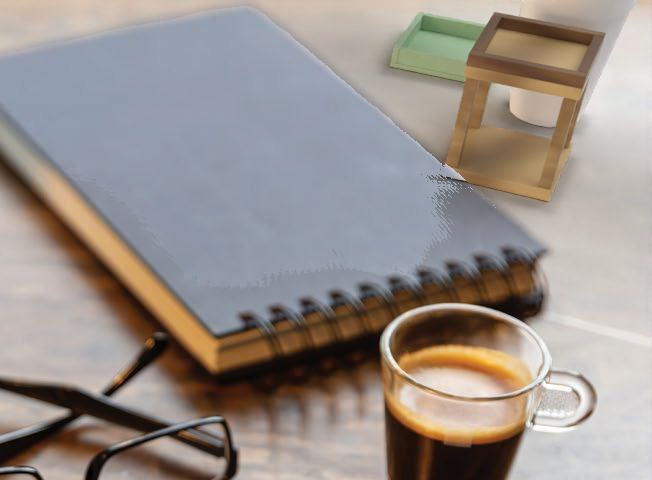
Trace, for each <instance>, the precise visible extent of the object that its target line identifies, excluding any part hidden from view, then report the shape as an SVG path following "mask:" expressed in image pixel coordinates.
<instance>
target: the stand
mask: <svg viewBox="0 0 652 480" xmlns="http://www.w3.org/2000/svg"><path fill="white" fill-rule="evenodd" d="M485 25H486V26H485V28H484V30H483V31H482V33H481V35H480V36H479V38H478V39H477V41H476V43H475V44H474V46H473V48H472V49H471V51H470V52H469V54H468V59H467V63H466V67H465V72H464V77H466V80H465V82H464V85H463V89H462V94H461V98H460V101H459V107H458V111H457V115H456V119H455V123H454V127H453V133H452V137H451V141H450V146H449V149H448V154H447V157H446V159H445V161H444V163H446V164H447V165H448V166H450V167H451V168H453V169H454V170H455V171H456V172H457V173H459V174H460V175H461V176H462V177H463V178H464V179H465V180H466V181H467V182H468V184H471V185H477V186H481V187H485V188H488V189H494V190H498V191H503V192H506V193H510V194H515V195H519V196H524V197H527V198H532V199H536V200H540V201H545V202H550V201H551V199H552V196H553V194H554V192H555V189H556V187H557V185H558V182H559V180H560V178H561V175H562V173H563V170H564V168H565V167H566V164H567V161H568V159H569V157H570V154H571V152H572V148H573V144H574V143H572V140H573V136H574V132H575V128H576V125H577V123H578V122H577V119H578V116H579V112H580V109H581V106H582V102H583V99H584V96H585V92H586V89H587V86H588V82H589V79H590V76H591V73H592V71H593V68H594V66H595V64H596V62H597V59H598V57H599V55H600V52H601V48H602V44H603V42H604V38H605V35H606V33H604V32H599V31H594V30H588V29H583V28H578V27H572V26H567V25H562V24H556V23H551V22H546V21H540V20H535V19H530V18H524V17H519V15H513V14H508V13H502V12H497V11H494V12H493V13H492V15H491V16H490V18H489V20H488V22H487V23H486V24H485ZM492 84H498V85H503V86H506V87H510V88H511V87H516V88H521V89H526V90H530V91H535V92H540V93H545V94H550V95H555V96H560V97H564V98H563V101H562V105H561V108H560V112H559V115H558V119H557V122H556V126H555V127H554V128H553V129H554V130H553V133H552V136H551V138H549V137H544V136H540V135H537V134H536V135H535V134H531V133H527V132H523V131H522V132H521V131H517V130H513V129H508V128H503V127H499V126H496V125H495V126H494V125H489V124H486V123H483V120H484V115H485V111H486V107H487V104H488V99H489V95H490V91H491V88H492V87H491V86H492ZM467 182H466V183H467Z"/></svg>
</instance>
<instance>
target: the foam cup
mask: <svg viewBox="0 0 652 480" xmlns="http://www.w3.org/2000/svg"><path fill="white" fill-rule="evenodd" d="M637 1H638V0H520V4H519V5H520V6H519V13H518V14H519V15H518V16H519V17H524V18H530V19H535V20H540V21H546V22H551V23H556V24H562V25H567V26H572V27H578V28H583V29H588V30H594V31H599V32H604V33H606V35H605V38H604V42H603V44H602V48H601V52H600V55H599V57H598V59H597V62H596V64H595V66H594V68H593V71H592V73H591V76H590V79H589V82H588V86H587V89H586V92H585V96H584V99H583V102H582V106H581V109H580V112H579V116H578V119H577V123H578V122H579V121H580V120H581V119H582V117H583V113H584V112H585V111H586V109H587V107H588V104H589V102H590V100H591V97H592V96H593V93H594V91H595V89H596V87H597V85H598V83H599V80H600V78H601V76H602V74H603V71H604V69H605V68H606V65H607V63H608V61H609V59H610V57H611V54H612V52H613V49H614V48H615V45H616V44H617V41H618V38H619V37H620V35H621V32H622V31H623V27H624V26H625V24H626V22H627V19H628V17H629V15H630V12H631V11H632V10H633V9H635V7H636V4H637ZM509 93H510V94H509V103H508V105H509V112H510V113H511V114H512V115H514V116H515V118H517V119H518V120H521V121H523V122H525V123H527V124H529V125H532V126H540V127H544V128H555V126H556V122H557V119H558V115H559V112H560V108H561V105H562V101H563V98H564V97H560V96H555V95H550V94H545V93H540V92H535V91H530V90H526V89H521V88H516V87H511V86H510V92H509Z"/></svg>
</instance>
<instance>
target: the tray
mask: <svg viewBox="0 0 652 480" xmlns="http://www.w3.org/2000/svg"><path fill="white" fill-rule="evenodd" d="M415 15H416V16H415V17H414V18H413V20H412V21H411V22H410V24H409V25H408V27H407V28H406V30H405V31H404V32H403V33H402V34H401V36H400V38H399V39H398V41H397V42H396V43H395V44H394V46H393V48H392V53H391V58H390V64H389V67H391V68H394V69H399V70H405V71H408V72H409V71H410V72H414V73H419V74H424V75H427V76H428V75H429V76H433V77H438V78H442V79H447V80H452V81H457V82H462V83H465V80H466V77H464V72H465V67H466V63H467V59H468V54H469V52H470V51H471V49H472V48H473V46H474V44H475V43H476V41H477V39H478V38H479V36H480V35H481V33H482V31H483V30H484V28H485V26H486V25H487V24H485V23H480V22H474V21H469V20H464V19H459V18H454V17H448V16H443V15H438V14H433V13H427V12H421V11H418V13H417V14H415Z"/></svg>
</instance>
